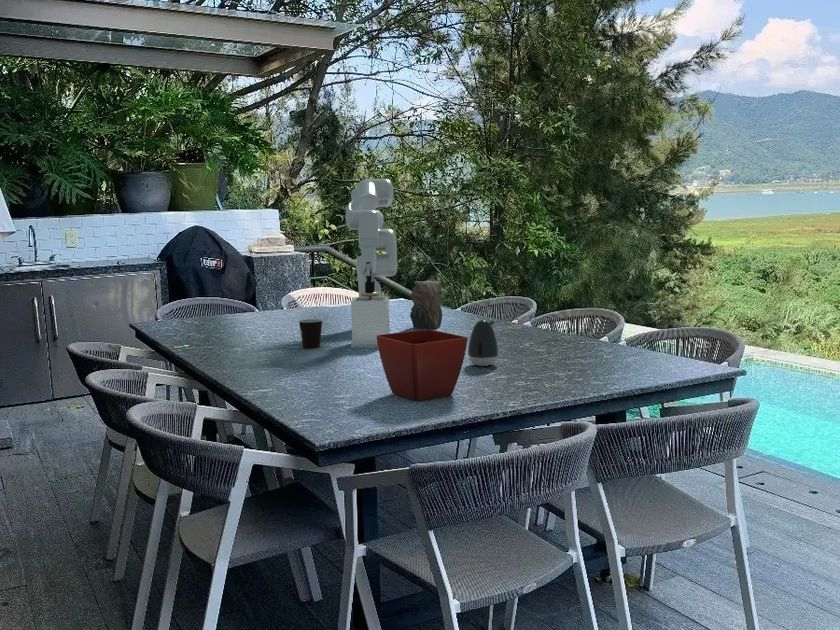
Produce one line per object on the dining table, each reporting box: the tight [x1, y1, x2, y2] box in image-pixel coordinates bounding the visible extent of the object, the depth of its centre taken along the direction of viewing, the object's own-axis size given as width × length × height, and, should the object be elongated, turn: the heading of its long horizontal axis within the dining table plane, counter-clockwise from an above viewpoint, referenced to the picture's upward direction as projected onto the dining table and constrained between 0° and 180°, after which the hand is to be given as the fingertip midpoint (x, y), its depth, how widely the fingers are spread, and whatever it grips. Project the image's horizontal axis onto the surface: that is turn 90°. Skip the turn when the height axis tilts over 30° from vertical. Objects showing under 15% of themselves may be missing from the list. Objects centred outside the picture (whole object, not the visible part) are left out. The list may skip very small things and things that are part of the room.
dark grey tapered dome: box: [467, 319, 500, 367], centre depth 284 cm, size 10×10×15 cm
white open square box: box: [350, 296, 391, 349], centre depth 327 cm, size 14×14×18 cm
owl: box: [409, 279, 443, 331], centre depth 370 cm, size 13×13×20 cm
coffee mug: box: [298, 318, 323, 350], centre depth 326 cm, size 12×9×10 cm
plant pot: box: [377, 329, 469, 402], centre depth 242 cm, size 19×19×17 cm
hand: (370, 291), depth 325 cm, fingers open, 2 cm apart
